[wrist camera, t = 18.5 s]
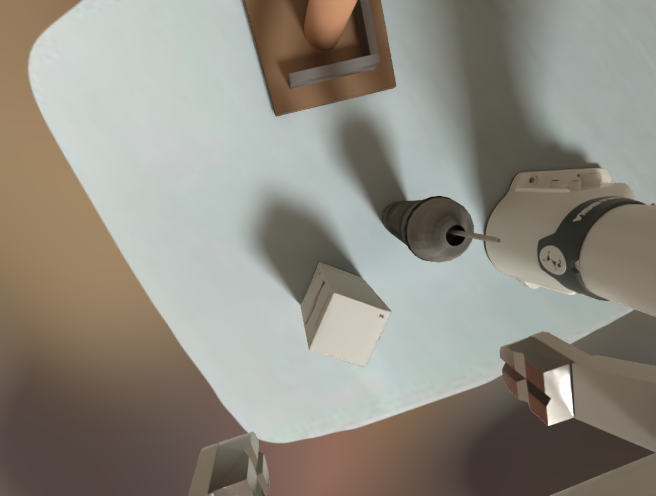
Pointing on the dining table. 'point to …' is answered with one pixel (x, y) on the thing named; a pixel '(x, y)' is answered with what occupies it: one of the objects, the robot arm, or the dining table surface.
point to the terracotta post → (326, 22)
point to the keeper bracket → (320, 55)
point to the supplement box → (343, 315)
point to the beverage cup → (432, 227)
